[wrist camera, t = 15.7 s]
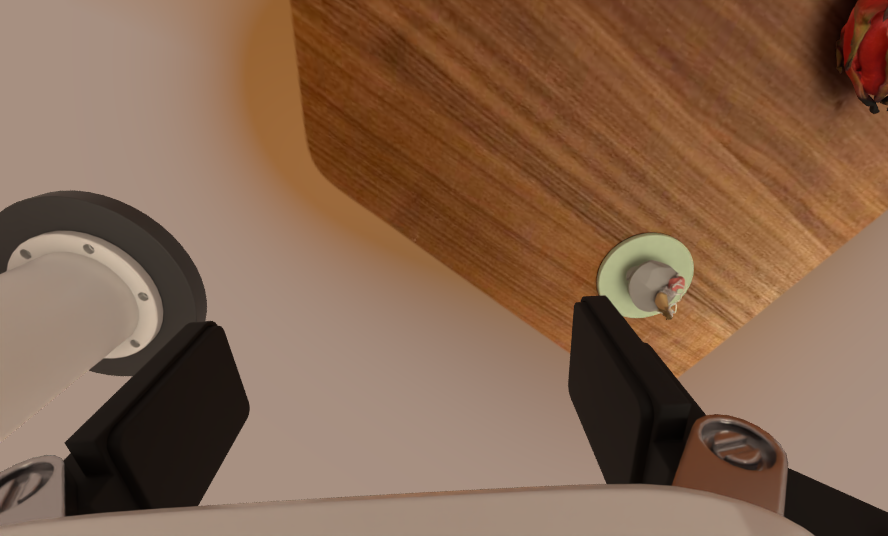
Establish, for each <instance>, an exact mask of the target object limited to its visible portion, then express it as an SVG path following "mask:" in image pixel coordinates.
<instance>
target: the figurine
mask: <svg viewBox="0 0 888 536" xmlns="http://www.w3.org/2000/svg"><path fill="white" fill-rule="evenodd" d="M679 274H680V273H677V272H676V271H675V270H674V269H673V268H672V267H671V266H669V265H667V264H664V263H662V262H658V261H654V260H649V261H646V262H644V263H642V264H640V265H639V266H634V267H631V268H630V269H629V270H628V271H627V273H626V279H627V281H628V292H629V294H630V297H631V299H632V302H633V303H634V305H635V306H636V307H637V308H638V309H640V310H642V311H645V312H652V311H657V312H658V313H662V314H663V316H665V317H666V320H667V319H672V318H673V313H676V310H677V305H676V302H677V301H681V296H682V294H683V293H684V291H685V290H686V288H687V286H686V288H685V289H684V286H685V279H684V278H683V277H682V276H679ZM678 289H684V290H683V293H682V294H680V293H677V292H678ZM676 295H681V296H680V300H676V301H675V303H672V304H669V303H670V302H671V301H672V300H673V299H674V297H675V296H676ZM668 304H669V306H668ZM671 305H675V306H676V309H675V311H673V309H672V308H671Z"/></svg>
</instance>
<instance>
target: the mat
mask: <svg viewBox="0 0 888 536" xmlns="http://www.w3.org/2000/svg"><path fill="white" fill-rule="evenodd" d="M649 260H654V261H658V262H662V263H664V264H667V265H669V266H671V267H672V268H673V269H674V270H675V271H676V272H677V273H680V274H679V276H682V277H683V278H684V279H685V286H684V289H685V288H686V286H687V288H686V290H685V291H684V293H683V290H684V289H678V292H677V293H680V294H682V293H683V294H682V296H683V295H684V294H685V292H686V291H687V289H688V288H689V286H690V283H691V281H692V277H693V271H694V266H693V260H692V257H691V254H690V252H689V251H688V249H687V248H686V247H685V246H684V245H683V244H682V243H681V242H680V241H678V240H677V239H675V238H673V237H671V236H669V235H665V234H661V233H645V234H640V235H636V236H633V237H631V238H628V239H626V240H624V241H623V242H621V243H620V244H618V245H617V246H616V247H614V248H613V249H612V250H611V251H610V252H609V253H608V255H607V256H606V257H605V259H604V260H603V262H602V264H601V266H600V268H599V271H598V275H597V289H598V293H599V295H600V296H601V295H606V296H607V297H608V298H609V300H610V301H611V302H612V304H613V305H614V306H615V307H616V309H617V310H618V311H619V312H620V314H621V315H622V316H625V317H629V318H644V317H649V316H653V315H656V314H659V313H658V312H657V311H652V312H645V311H642V310H640V309H638V308H637V307H636V306H635V305H634V303H633V302H632V299H631V297H630V294H629V292H628V281H627V279H626V273H627V271H628V270H629V269H630V268H631V267H634V266H639V265H640V264H642V263H644V262H646V261H649ZM680 296H681V295H676V296H675V297H674V299H673V300H672V301H671V302H670V303H669V304H672V303H675V301H676V300H680ZM682 296H681V298H682ZM677 302H678V301H677ZM677 302H676V303H677ZM669 304H668V306H669ZM671 306H673V305H671Z"/></svg>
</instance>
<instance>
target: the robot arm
mask: <svg viewBox="0 0 888 536" xmlns="http://www.w3.org/2000/svg"><path fill="white" fill-rule="evenodd" d="M162 322H163V306H162V300H161V297H160V294H159V292H158V289H157V287H156V285H155V284H154V282H153V280H152V279H151V277H150V276H149V275H148V273H147V272H146V271H145V270H144V269H143V267H142V266H141V265H140V264H139V263H138V262H137V261H136V260H134V259H133V258H132V257H131V256H130V255H129V254H127V253H126V252H124V251H123V250H121V249H120V248H119V247H117V246H115V245H113V244H111V243H109V242H107V241H105V240H103V239H101V238H99V237H96V236H93V235H90V234H87V233H81V232H76V231H53V232H47V233H43V234H41V235H38V236H36V237H33V238H30V239H28V240H27V241H25V242H24V243H22V244H20V245H19V246H18V247H17V248H16V250H15V251H14V252H13V253H12V255H11V257H10V259H9V262H8V266H7V271H6V272H4V273H2V274H0V443H1V442H2V441H3V440H4V439H6V438H7V437H8V436H9V435H10V434H12V433H13V432H14V431H15V430H17V429H18V428H19V427H20V426H22V425H23V424H24V423H25V422H26V421H27V420H29V419H30V418H31V417H32V416H34V415H35V414H36V413H37V412H39V411H40V410H41V409H42V408H43V407H45V406H46V405H47V404H48V403H49V402H51V401H52V400H53V399H54V398H56V397H57V396H58V395H59V394H60V393H62V392H63V391H64V390H65V389H67V388H68V387H69V386H70V385H71V384H72V383H74V382H75V381H76V380H77V379H79V378H80V377H81V376H82V375H83V374H85V373H86V372H87V371H88V370H90V369H91V368H92V367H93V366H95V365H96V364H97V363H98V362H99V361H101V360H102V359H103V358H120V357H126V356H129V355H132V354H134V353H137V352H138V351H140V350H141V349H143V348H144V347H146V346H147V345H148V344H149V343H150V342H151V341H152V340H153V339H154V338H155V337H156V335H157V334H158V332H159V331H160V328H161V325H162ZM568 387H569V394H570V397H571V400H572V402H573V405H574V407H575V409H576V412H577V414H578V417H579V419H580V421H581V424H582V426H583V428H584V431H585V433H586V436H587V438H588V440H589V443H590V445H591V447H592V450H593V452H594V455H595V457H596V459H597V462H598V464H599V466H600V469H601V471H602V473H603V476H604V479H605V481H606V483H607V484H591V485H590V484H589V485H563V486H540V487H517V488H500V489H499V488H498V489H480V490H460V491H442V492H423V493H405V494H387V495H370V496H353V497H337V498H320V499H304V500H286V501H270V502H254V503H239V504H223V505H208V506H198V505H199V503H200V501H201V500H202V498H203V496H204V494H205V493H206V491H207V489H208V487H209V485H210V484H211V482H212V480H213V478H214V477H215V475H216V473H217V471H218V469H219V468H220V466H221V464H222V462H223V461H224V459H225V457H226V455H227V453H228V452H229V450H230V448H231V446H232V445H233V443H234V441H235V439H236V437H237V436H238V434H239V432H240V430H241V429H242V427H243V425H244V423H245V421H246V420H247V418H248V415H249V410H250V407H249V402H248V399H247V396H246V393H245V390H244V387H243V384H242V381H241V379H240V375H239V372H238V370H237V367H236V364H235V361H234V358H233V355H232V352H231V349H230V346H229V343H228V340H227V337H226V334H225V332H224V330H223V328H222V327H221V326H217V324H216V323H215V322H213V321H205V322H191V323H188V324H186V325H185V326H184V327H183V328H182V329H181V330H180V331H179V332H178V333H177V334H176V335H175V336H174V337H173V338H172V339H171V340H170V341H169V342H168V343H167V344H166V345H165V346H164V347H163V348H161V349H160V350H159V351H158V352H157V353H156V354H155V355H154V356H153V357H152V358H151V359H150V360H149V361H148V362H147V363H146V364H145V365H144V366H143V367H142V368H141V369H140V370H139V371H138V372H137V373H136V374H135V375H134V376H133V377H132V378H131V379H130V380H129V381H128V382H127V383H125V385H123V386H122V387H121V388H120V389H119V390H118V391H117V392H116V393H115V394H114V395H113V396H112V397H111V398H110V399H109V400H108V401H107V402H106V403H105V404H104V405H103V406H102V407H101V408H100V409H99V410H98V411H97V412H96V413H95V414H94V415H93V416H92V417H91V418H90V419H88V421H86V422H85V423H84V424H83V425H82V426H81V427H80V428H79V429H78V430H77V431H76V432H75V433H74V434H73V435H72V436H71V437H70V438H69V439H68V440H67V441H66V442H65V444H66V446H67V448H68V449H69V451H70V452H71V454H70V455H69V456H68V457H67V458H66V459H65V460H64V461H63V460H62V458H60V457H57V456H55V455H44V456H40V457H35V458H31V459H28V460H26V461H23V462H21V463H18V464H16V465H14V466H12V467H10V468H8V469H6V470H4V471H2V472H0V536H888V512H886V511H883V510H881V509H879V508H876V507H874V506H872V505H870V504H868V503H865V502H863V501H861V500H859V499H856V498H854V497H852V496H849V495H847V494H845V493H843V492H841V491H839V490H836V489H834V488H832V487H829V486H827V485H825V484H823V483H820V482H818V481H816V480H814V479H812V478H809V477H807V476H805V475H803V474H800V473H798V472H796V471H794V470H792V469H789V468H788V461H787V455H786V453H785V451H784V450H783V448H782V446H781V445H780V444H779V442H777V441H776V440H775V439H774V438H773V437H772V436H771V435H770V434H769V433H767V432H766V431H764V430H763V429H761V428H760V427H758V426H756V425H754V424H752V423H750V422H748V421H745V420H743V419H740V418H736V417H733V416H729V415H718V414H714V415H705V413H704V412H703V411H702V410H701V408H700V407H699V406H698V404H697V403H696V402H695V401H694V399H693V398H692V397H691V396H690V394H689V393H688V392H687V391H686V390H685V388H684V387H683V386H682V385H681V383H680V382H679V381H678V380H677V378H676V377H675V376H674V375H673V373H672V372H671V371H670V370H669V368H668V367H667V366H666V365H665V363H664V362H663V361H662V360H661V358H660V357H659V356H658V355H657V353H656V352H655V351H654V350H653V348H652V347H651V346H650V345H649V344H648V343H644V342H642V340H641V339H640V338H639V337H638V335H637V334H636V333H635V332H634V330H633V329H632V328H631V326H630V325H629V324H628V323H627V321H626V320H625V319H624V318H623V316H622V315H621V314H620V312H619V311H618V310H617V309H616V307H615V306H614V305H613V304H612V302H611V301H610V300H609V298H608V297H607V296H606V295H601V296H585V297H582V299H581V302H577V303H575V305H574V313H573V327H572V340H571V353H570V367H569V381H568Z"/></svg>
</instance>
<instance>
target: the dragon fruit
mask: <svg viewBox="0 0 888 536" xmlns="http://www.w3.org/2000/svg"><path fill="white" fill-rule="evenodd" d="M836 59H837V68H836V69H837V70H838V71H839V72H840V73H842V71H843V67H844V70H845V72H846V74H847V75H848V77H849V78H850V80H851V82H852V83H853V86H854V89H855V92H856V95H857V97H858V98H859V100H861V101H862V102H863V103H864V104H865V105H866V106H870V109H869V110H870V112H871V113H873V114H876V113H878V112H880V111H879V110H878V106H877V105H876V102H880V103H882V104H884V105H888V96H887V97H885V98H884V96H885V95H887V94H888V0H858V1H857V3H856V4H855V7H854V8H853V10H852V12H851V14H850V16H849V19H848V22H847V23H846V24H845V25H844V27H843V28H842V30H841V37H840V39H839V40H837V42H836ZM868 94H872V95H874V100H873V99H872V98H871V97H870V96H869V95H868ZM887 111H888V108H887Z"/></svg>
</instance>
